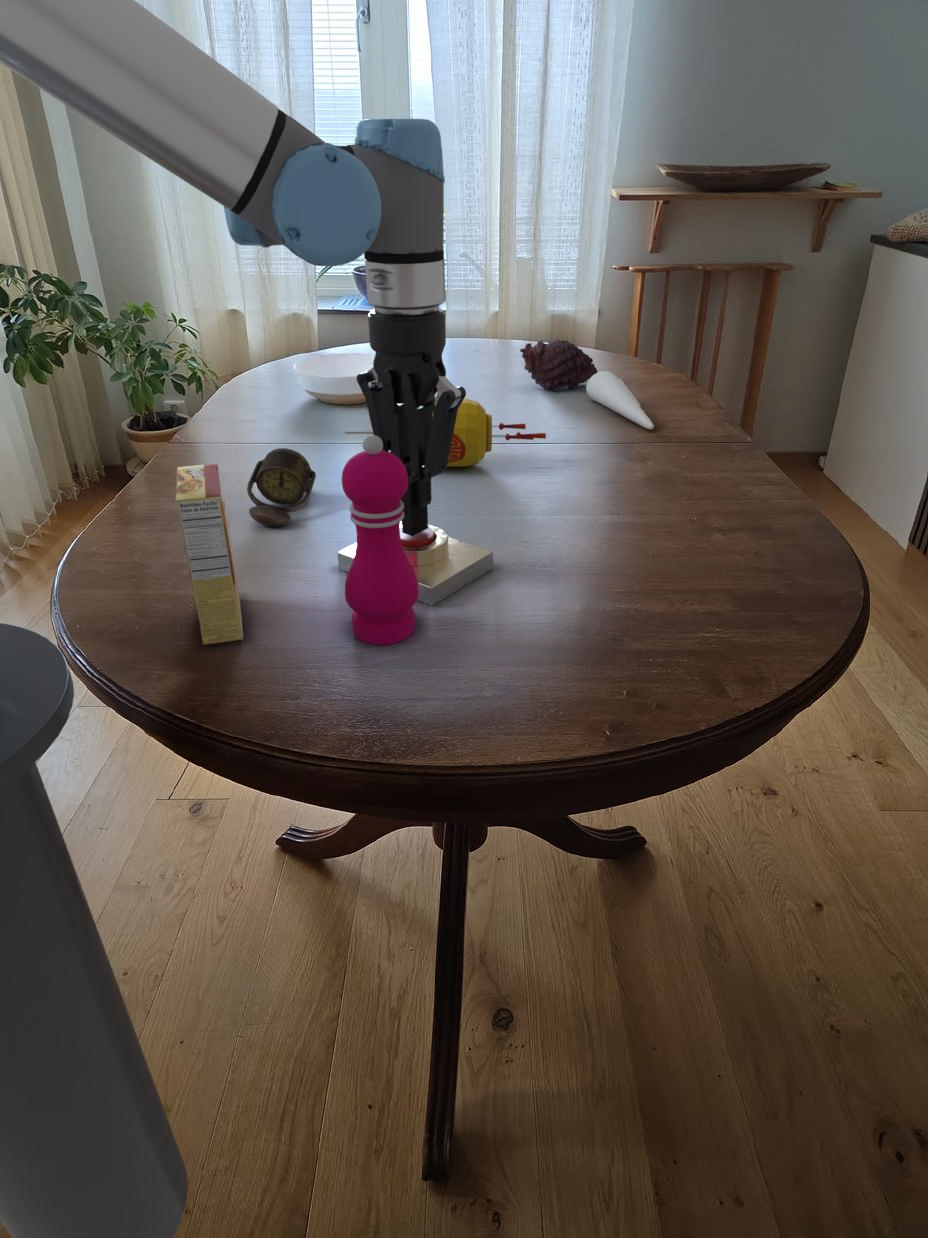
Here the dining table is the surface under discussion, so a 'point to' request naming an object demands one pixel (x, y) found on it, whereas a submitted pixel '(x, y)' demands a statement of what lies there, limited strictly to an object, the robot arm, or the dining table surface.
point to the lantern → (474, 434)
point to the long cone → (616, 397)
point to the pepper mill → (379, 547)
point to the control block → (438, 565)
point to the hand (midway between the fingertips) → (415, 530)
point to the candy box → (209, 552)
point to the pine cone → (557, 364)
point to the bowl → (334, 376)
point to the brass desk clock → (280, 486)
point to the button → (417, 538)
